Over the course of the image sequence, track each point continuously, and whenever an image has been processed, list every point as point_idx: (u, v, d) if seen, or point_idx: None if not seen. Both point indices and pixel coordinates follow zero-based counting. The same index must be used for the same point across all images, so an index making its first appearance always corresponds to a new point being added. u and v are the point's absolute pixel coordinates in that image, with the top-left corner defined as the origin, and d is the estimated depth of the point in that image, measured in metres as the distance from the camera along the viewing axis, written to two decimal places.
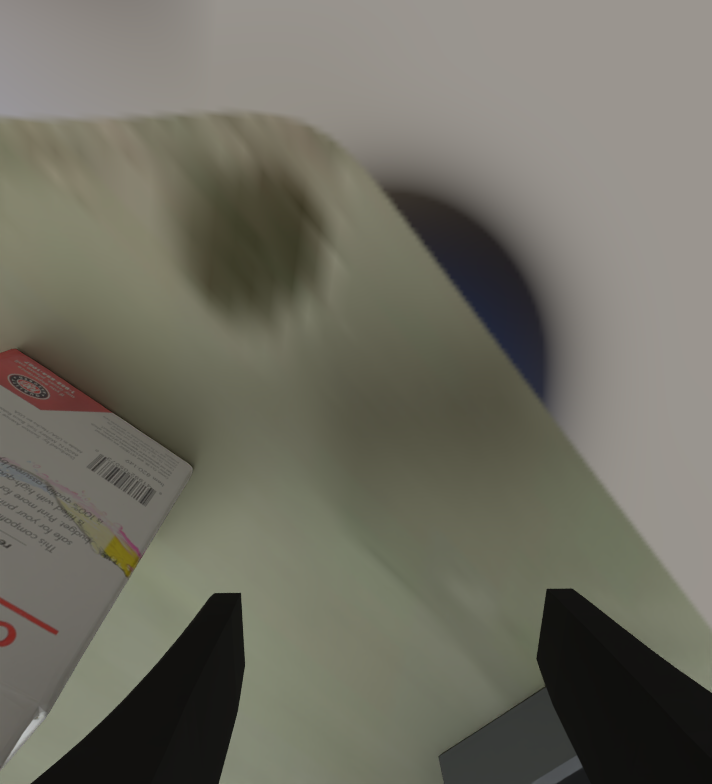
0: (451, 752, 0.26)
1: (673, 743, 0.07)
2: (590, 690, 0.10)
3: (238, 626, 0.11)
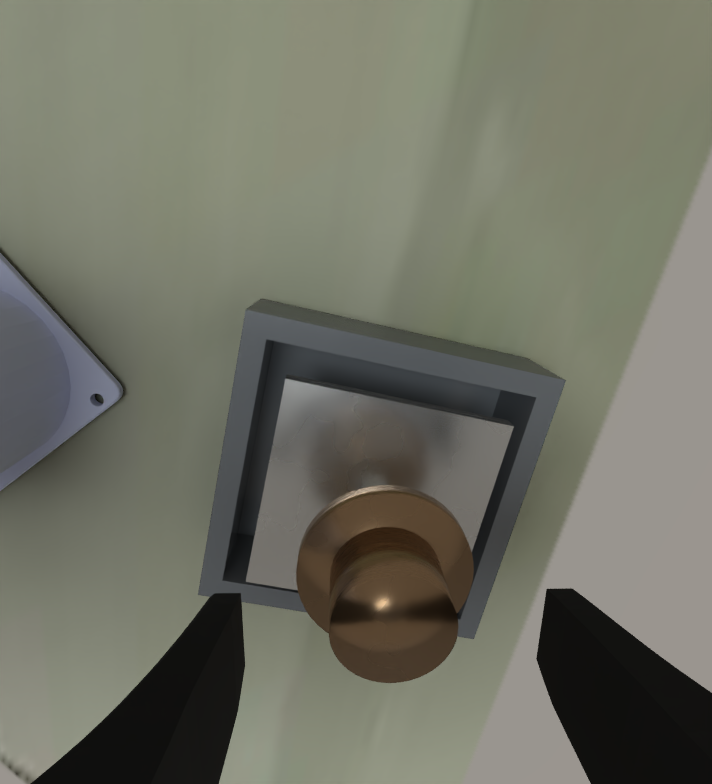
0: (280, 305, 0.19)
1: (673, 743, 0.07)
2: (590, 690, 0.10)
3: (238, 626, 0.11)
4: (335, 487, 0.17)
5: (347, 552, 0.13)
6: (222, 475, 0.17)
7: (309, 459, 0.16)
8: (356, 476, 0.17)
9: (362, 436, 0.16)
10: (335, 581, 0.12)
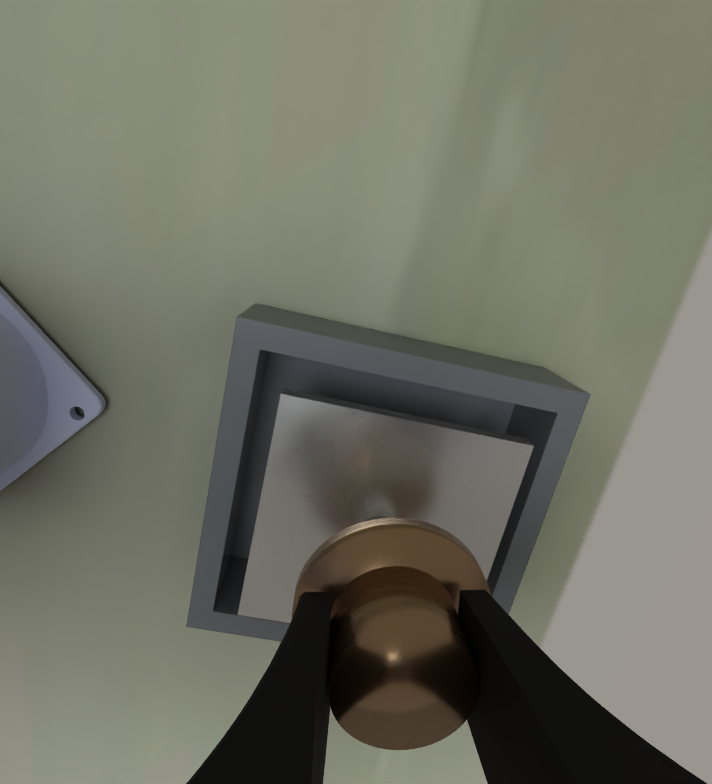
0: (276, 310, 0.18)
1: (540, 746, 0.07)
2: (487, 692, 0.10)
3: None
4: (336, 512, 0.15)
5: (350, 596, 0.11)
6: (212, 498, 0.16)
7: (307, 483, 0.15)
8: (359, 500, 0.15)
9: (366, 456, 0.15)
10: (336, 631, 0.11)
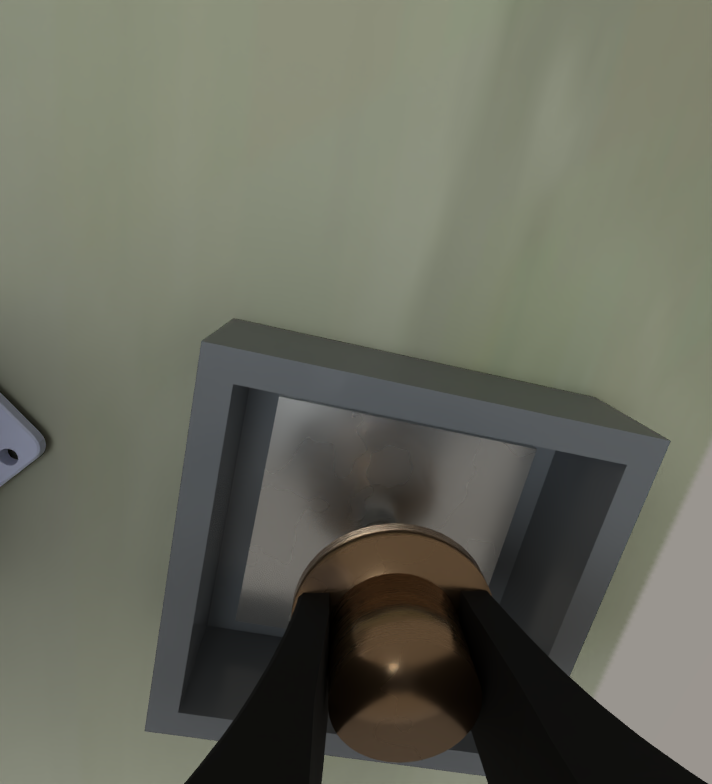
0: (260, 327, 0.14)
1: (541, 746, 0.07)
2: (488, 692, 0.10)
3: None
4: (335, 517, 0.15)
5: (349, 604, 0.11)
6: (173, 575, 0.12)
7: (306, 486, 0.14)
8: (359, 504, 0.15)
9: (366, 460, 0.14)
10: (335, 641, 0.10)
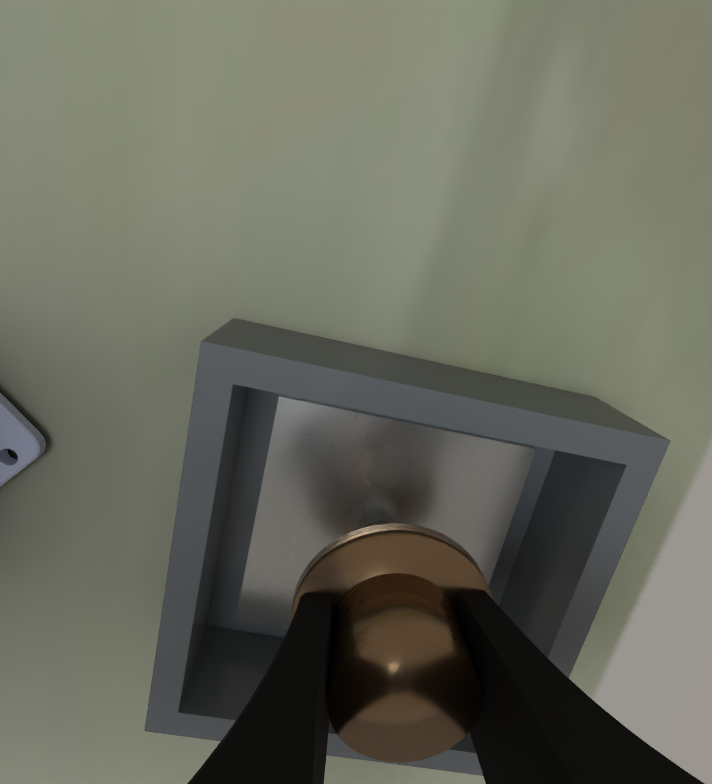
0: (260, 327, 0.14)
1: (538, 746, 0.07)
2: (486, 692, 0.10)
3: None
4: (335, 517, 0.15)
5: (349, 604, 0.11)
6: (173, 575, 0.12)
7: (306, 486, 0.14)
8: (359, 504, 0.15)
9: (366, 460, 0.14)
10: (335, 641, 0.10)
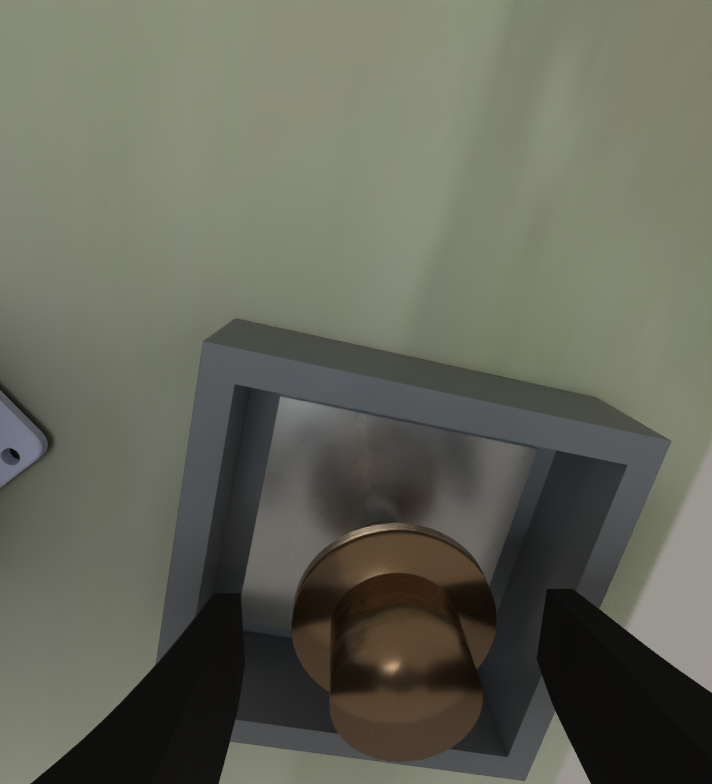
0: (262, 327, 0.14)
1: (673, 743, 0.07)
2: (590, 690, 0.10)
3: (238, 626, 0.11)
4: (336, 517, 0.15)
5: (350, 604, 0.11)
6: (175, 574, 0.12)
7: (307, 486, 0.15)
8: (360, 504, 0.15)
9: (367, 459, 0.14)
10: (336, 640, 0.10)
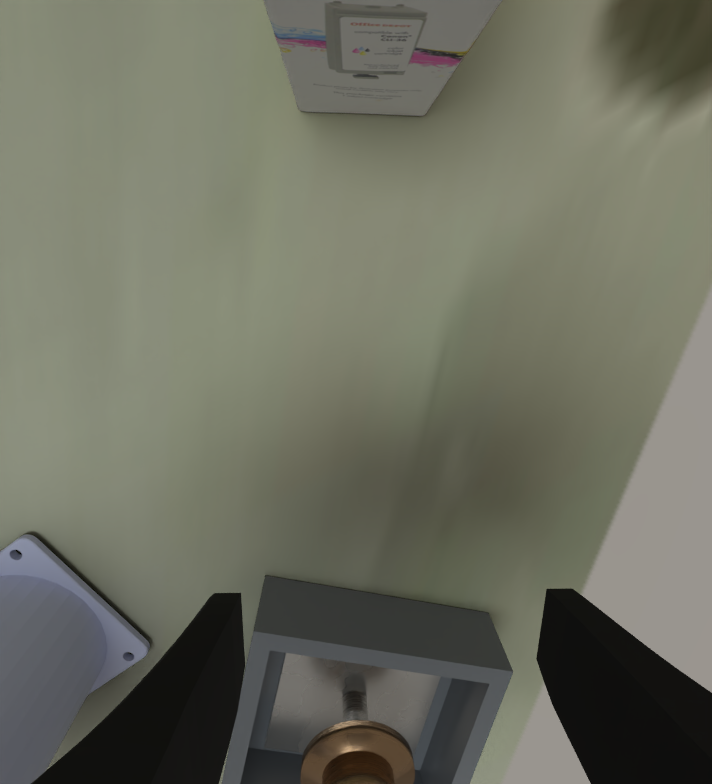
0: (281, 582, 0.23)
1: (673, 743, 0.07)
2: (590, 690, 0.10)
3: (238, 626, 0.11)
4: (327, 688, 0.24)
5: (332, 770, 0.20)
6: (233, 743, 0.21)
7: (308, 672, 0.24)
8: (341, 681, 0.24)
9: None
10: None
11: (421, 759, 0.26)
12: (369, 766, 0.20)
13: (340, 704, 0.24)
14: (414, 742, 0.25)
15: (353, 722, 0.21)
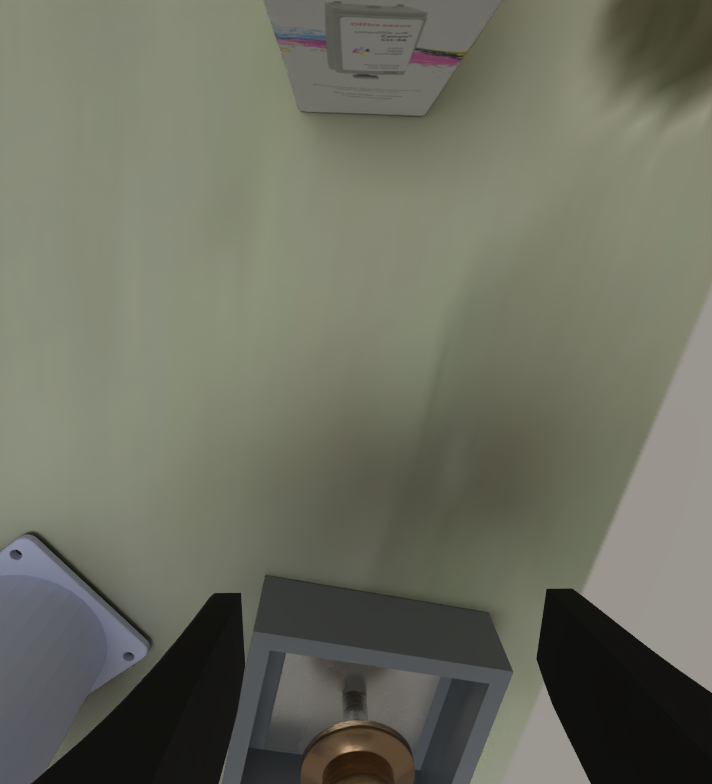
0: (281, 582, 0.23)
1: (673, 743, 0.07)
2: (590, 690, 0.10)
3: (238, 626, 0.11)
4: (327, 688, 0.24)
5: (332, 770, 0.20)
6: (233, 743, 0.21)
7: (308, 672, 0.24)
8: (341, 681, 0.24)
9: None
10: None
11: (421, 759, 0.26)
12: (369, 766, 0.20)
13: (340, 704, 0.24)
14: (414, 742, 0.25)
15: (353, 722, 0.21)
